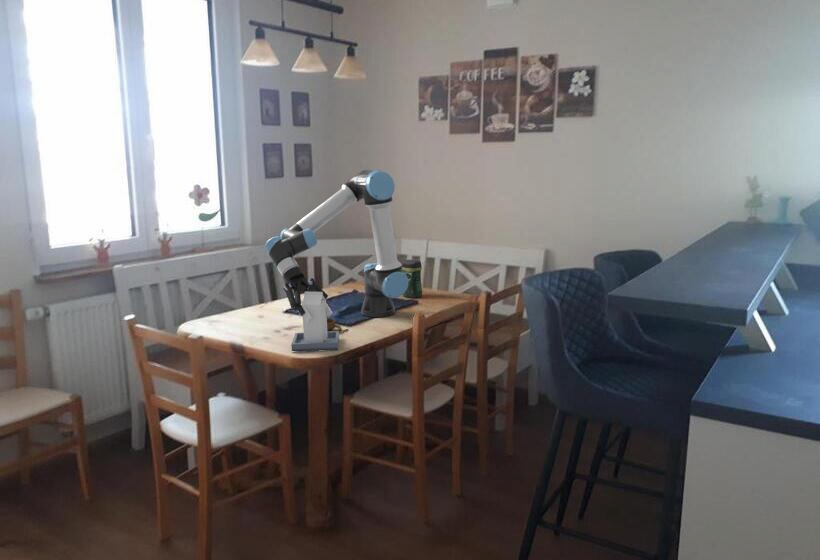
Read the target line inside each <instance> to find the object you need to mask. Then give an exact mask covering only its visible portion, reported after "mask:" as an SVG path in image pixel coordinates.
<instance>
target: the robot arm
mask: <svg viewBox="0 0 820 560" xmlns="http://www.w3.org/2000/svg"><path fill="white" fill-rule="evenodd" d="M395 185H396V184H395V181H394V179H393V177H392V176H391V175H390V174H389V173H387V172H386V171H383V170H379V169H376V170H375V169H374V170H373V169H364V170H361V171H360V172H358V173H356V174H355V175H354V176H352V177H351V178H350V179H348V180H347V181H345V182H344V183H343V184H342V185H341V188H340V189H339V190H338V191H337V192H335V193H334V194H332V195H331V196H330V197H329V198H328V199H326V200H325V201H323V203H321V204H320V205H318V206H317V207H316V208H314V209H313V210H312V211H310V212H309V213H308V214H306V215H305V216H304V217H302V218H301V219H299V220H298V221H297V222H296V223H295V224H293V225H292V226H291V227H287V228H284V229H283V230H282V231H281V232H280V235H279V236H273V237H271V238H270V239H268V240H267V241H266V242H265V244H264V249H265V251H266V252H267V254H268V257H270V259H271V261H272V262H273V264H274V266H275V267H276V268H277V270H278V272H279V273H280V276H282V278H283V280H284V282H285V285H284V286H283V288H282V289H283V290H284V292H285V293H286V296H287V299H288V302H289V305H290V308H291V309H294V310H295V311H298V312H299V314H300V315H301V316H302V317H303V316H304V318H305V320H306V321H307V323H309V322H310V321H311V319H312V317H311V316H310V314H309V312H308V311H307V309H306V308H305V306H304V304H303V305H302V297H301V293H305V292H323V296H324V298H325V299H326V312H327V318H330V317H331V316H332V314H333V313H334V312H333V311H332V309H331V307H330V305H329V303H328V301H327V298H329V295H328V294H327V293H326V291H324V290H323V288H322V287H321V286H319V284H317V282H316V281H315V279H314V278H312V277H311V278H310V279H307V278H306V277H305V273H304V272H303V269H301V267H300V266H299V264H298V261H296V259H295V258H294V256H296V255H299V254H300V253H304V252H305V251H307V250H311V249H312V248H313V247H315V246H316V245H317V244H318V240H317V237H316V235H315V232H316V231H318V230H319V229H320V228H322V227H323V226H324V225H325V224H327V223H329V222H330V221H331V220H332V219H334V218H335V217H337V215H339V214H340V213H341V212H343V211H344V210H345V209H347V208H348V207H349V206H351V205H352V204H357V203H358V202H360V201H361V200H363V202H364V206H365V207H367V208H368V210H369V216H370V223H371V228H372V229H371V230H372V235H373V236H372V237H373V243H374V248H375V254H376V255H375V256H376V262H374V263H372V262H371V263H366V264H365V265H364V266H363V267H364V268H363V278H364V279H363V280H364V282H363V283H364V285H363V286H364V299H363V302H362V305H361V315H362V314H363V316H364V315H365V317H369V318H370V317H371V318H384V317H390V316H392V315H394V314H395V313H396V308H395V304H394V302H393V299H398V298H400V297H401V296H403V294H404V293H405V291H406V290H407V288H408V278H407V276H406V275H405V274H404V273H403V270H402V263H401V262H400V261H399V260H398V256H397V249H396V247H397V246H396V243H395V242H396V241H395V235H394V228H393V220H392V213H391V207H390V206H391V204H392V203H393V196H392V195H393V194H394V192H395V190H396V189H395V188H396V187H395Z"/></svg>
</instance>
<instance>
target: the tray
mask: <svg viewBox="0 0 820 560" xmlns="http://www.w3.org/2000/svg"><path fill="white" fill-rule="evenodd" d="M327 334H328V337H327V338H326V339H325V340H324V341H323V342H317V343H312V342H304V332H295V333H294V336H293V339H292V342H291V352H292V351H306V352H320V351H319V350H330V351H338V350H339V343H340V342H339V341H340V332H339V331H336V330H332V331H330V332H327Z"/></svg>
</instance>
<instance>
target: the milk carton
mask: <svg viewBox="0 0 820 560" xmlns="http://www.w3.org/2000/svg"><path fill="white" fill-rule="evenodd" d="M326 301H327V299H325V298H324V296H323V292H305V291H304V296H303V298H302V301H301V305H303V304H304V306H305V308H306V309H307V311H308V312H309V314H310V316H311V317H312V319H311V321H310V322H309V323H307V321H306V320H305V318H304V316H303V315H302V326H303V327H302V329H303V333H304V342H312V343H317V342H323V341H324V340H325V339H326V338H327V337H328V334H327V319H328V316H327V312H326Z"/></svg>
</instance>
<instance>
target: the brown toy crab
mask: <svg viewBox="0 0 820 560" xmlns="http://www.w3.org/2000/svg"><path fill="white" fill-rule="evenodd" d="M334 329H337V330H335V331H339V333H340V332H341V331H342V326H341V325H339V324H336V319H333V318H327V332H332V331H334ZM348 331H349V328H346V329H343V331H342V332H341V333H340V334H344V333H346V332H348Z"/></svg>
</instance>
